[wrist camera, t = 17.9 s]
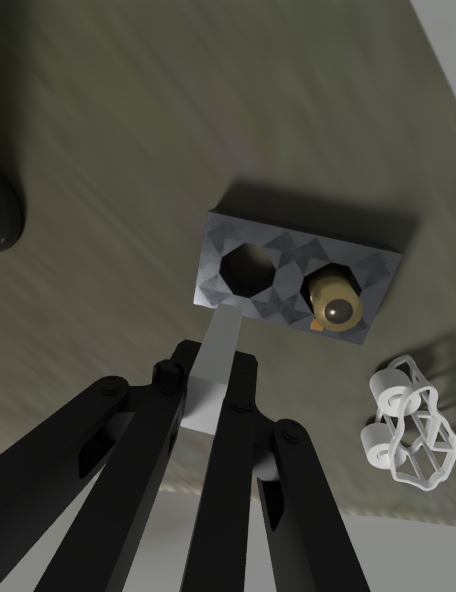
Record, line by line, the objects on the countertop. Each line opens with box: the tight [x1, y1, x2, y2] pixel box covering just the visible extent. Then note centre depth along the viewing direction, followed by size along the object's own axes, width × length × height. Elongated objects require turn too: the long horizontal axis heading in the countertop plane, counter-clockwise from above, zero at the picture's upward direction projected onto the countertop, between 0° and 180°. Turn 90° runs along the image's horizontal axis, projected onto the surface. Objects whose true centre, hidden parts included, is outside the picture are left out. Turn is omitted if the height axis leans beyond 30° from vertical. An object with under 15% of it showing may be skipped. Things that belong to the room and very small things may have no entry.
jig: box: [194, 207, 403, 345], centre depth 39 cm, size 24×13×5 cm, turn 79°
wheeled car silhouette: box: [361, 355, 456, 491], centre depth 44 cm, size 20×11×7 cm, turn 3°
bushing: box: [307, 263, 363, 331], centre depth 36 cm, size 5×5×11 cm
